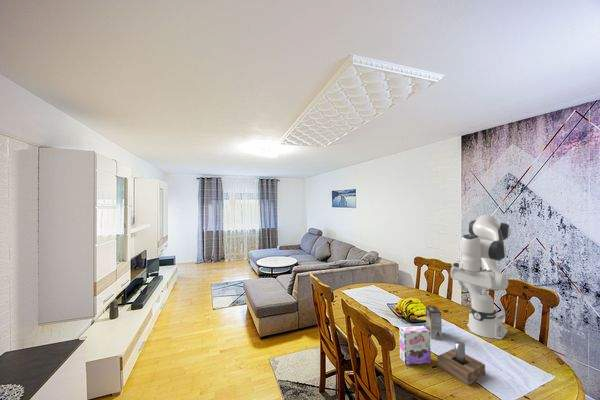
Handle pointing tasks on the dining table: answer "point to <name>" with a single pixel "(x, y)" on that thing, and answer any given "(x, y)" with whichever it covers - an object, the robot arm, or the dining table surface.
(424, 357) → the candy box
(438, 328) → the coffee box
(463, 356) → the pin
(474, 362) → the socket block
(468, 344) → the dining table surface
